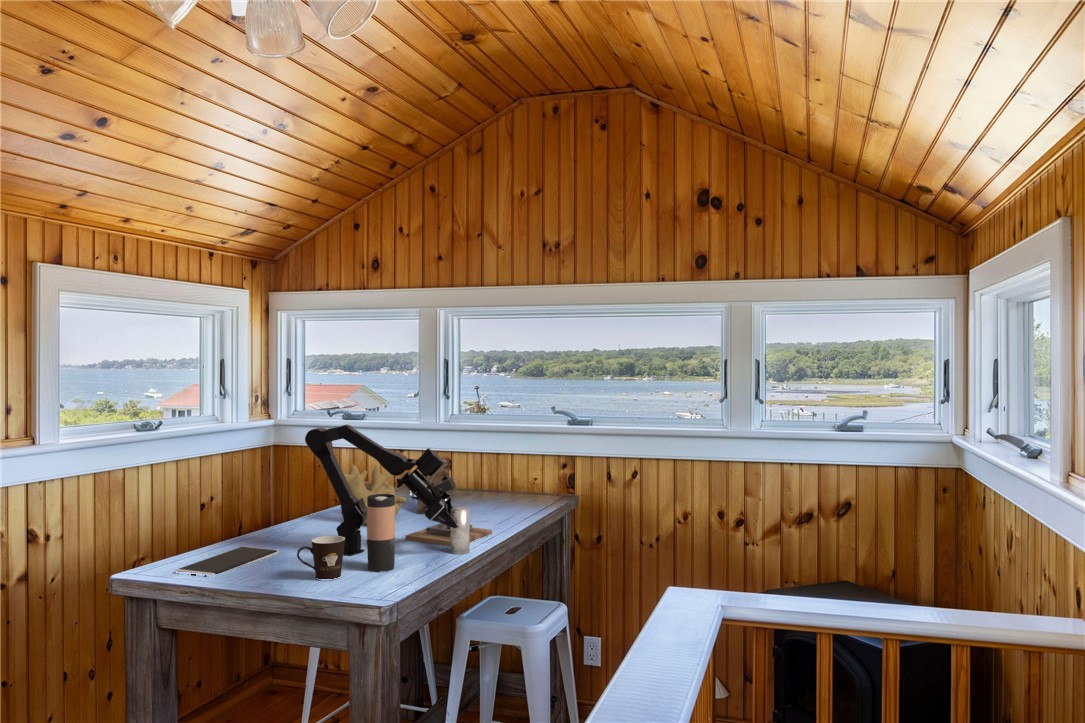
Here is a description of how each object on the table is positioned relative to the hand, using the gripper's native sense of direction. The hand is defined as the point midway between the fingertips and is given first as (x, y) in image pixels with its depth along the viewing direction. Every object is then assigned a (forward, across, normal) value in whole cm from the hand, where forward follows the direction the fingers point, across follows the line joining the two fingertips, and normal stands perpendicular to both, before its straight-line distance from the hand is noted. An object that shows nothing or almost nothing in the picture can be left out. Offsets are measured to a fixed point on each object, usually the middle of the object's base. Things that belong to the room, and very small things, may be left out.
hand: (458, 523), depth 230 cm
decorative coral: (-18, +47, +30) cm, 59 cm away
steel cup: (+6, 0, +6) cm, 9 cm away
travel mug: (-8, -18, +20) cm, 28 cm away
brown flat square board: (+3, +20, +9) cm, 22 cm away
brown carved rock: (-5, +62, +18) cm, 65 cm away
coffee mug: (-18, -26, +30) cm, 43 cm away
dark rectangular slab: (-39, -11, +51) cm, 66 cm away
